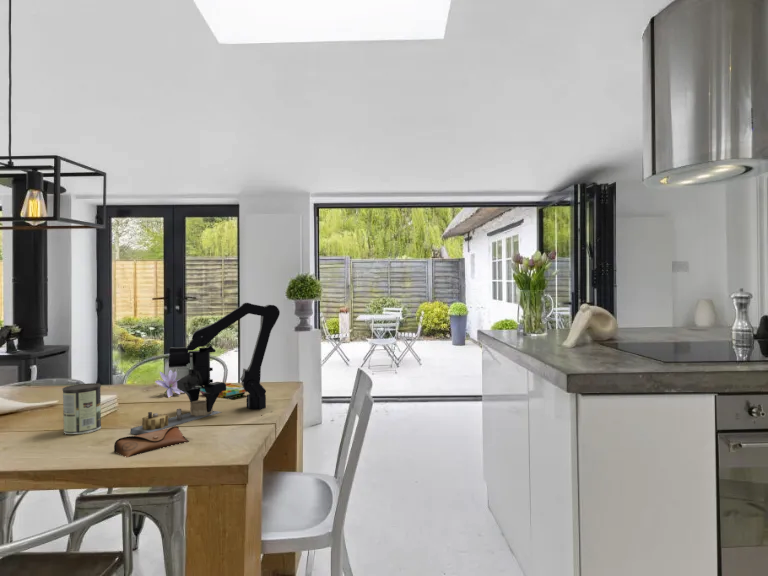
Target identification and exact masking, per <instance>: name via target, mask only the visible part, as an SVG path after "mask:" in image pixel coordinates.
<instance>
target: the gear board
mask: <svg viewBox="0 0 768 576" xmlns="http://www.w3.org/2000/svg"><path fill="white" fill-rule="evenodd" d="M221 413H222V411H218V410H213V412H212V414H207V415H205V416H203V415H202V416H194V415H192V416H191V413H190V412H187V413H183V414H182V408H177V409H176V416H172V417H169V415H168V414H165V413H164V414H162V413H161V414H160V413H158V412H154V413H153V412H152V411H149V412H147V416H145V417H142V422H141V423H142V425H140V426H139V425H138V426H135V427H132V428H130V434H132V435H135V436H136V435H140V434H144V433H149V432H154V431H159V430H164V429H168V428H171V427H174V426H180V425H182V424H186V423H190V422H193V421H198V420H200V419H203V418H207V417H211V416H214V415H218V414H221Z"/></svg>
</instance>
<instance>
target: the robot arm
mask: <svg viewBox="0 0 768 576" xmlns="http://www.w3.org/2000/svg"><path fill="white" fill-rule="evenodd" d="M249 314H250V315H255V316H260V323H259V324H260V326H259V331H258V332H259V333H258V335H257V338H256V342H255V346H254V349H253V352H252V356H251V359H250V363H249V365H248V366H247V368H242V369H243V370H242V374H241V377H240V381H241V386H243V388H244V390H245V391H247V392H246V393H248V394H246V401H245V402H246V408H247V409H248V410H250V411H252V410H253V411H257V410H259V411H260V410H263V409H266V408H267V399H266V398H267V395H266V392H267V390H266V389H265V387H264V386H263V385H262V384H261V375H262V373H261V369H262V364H263V361H264V357H265V353H266V350H267V346H268V343H269V340H270V336H271V333H272V330H273V328H274V326H275V325H276V323H277V321H278V319H279V317H280V309H279V307H278V306H276V305H274V304H266V305H259V304H253V303H250V302H243V303H242V304H241V305H240V306H238V307H237V308H236V309H234V310H232V311H230V312H229V313H227V314H226V315H224V316H223V317H221V318H220V319H219V320H216V321H215V322H213V323H211V324H208V325H206V326H203V327H201V328H199V329H196V330H195V331H194V332H193V334H192V336H191V339H192V340H190V342H189V343H188V344H187V346H183V347H172V346H171V347H170V348H169V352H168V353H169V354H168V355H169V356H168V368H169V369H171V368H184V367H185V368H186V367H188V366H187V365H189V364H191V363H192V368H189V370H188V374H187V375H185V376H182V377H181V378H179V379H180V380H178V379H177V380H178V381H177V385H176V386H177V389H179V390H181V391H182V392H184V393H183V394H186V395H187V397H188V399H189V403H191V402H193V401H197V400H200V399H199V398H200V394H201V392H200V388H202V389H205V391H206V393H203V396H204V398H205V400H206V405H207V412H210V411H211V409H212V407H214V405H215V402H216V400H217V399H218V398H217V397H218V395H219V394H220V393H221V392H222V391H226V384H225V383H226V382H224V381H223V382H221V381H215V382H214V380H213V379H212V378H211V372H212V371H213V367H211V353H215V352H216V349H215V348H214V347H213V346H212V345H211V344H209V343H210V342H211V341H213V340H214V339H215V338H216V337H217V336H218V335H219V334H220V333H221V332H223V331H224V330H225V329H227V328H229V327H230V326H232V325H233V324H234V323H236V322H238V321H239V320H241V319H242V318H243V317H246V316H247V315H249ZM208 344H209V345H208ZM207 345H208V347H205V346H207ZM197 348H199V349H198V350H196V349H197ZM191 354H192V355H191ZM191 357H192V360H191ZM191 361H192V362H191ZM182 392H181V393H182Z"/></svg>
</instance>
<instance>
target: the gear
mask: <svg viewBox="0 0 768 576" xmlns="http://www.w3.org/2000/svg"><path fill="white" fill-rule="evenodd" d="M189 403H190V402H189ZM189 406H190V412H189V413H191V416H192V415H194V416H202V415H203V416H205V415H207V414H212V412H213V411H214V409H213V407H214V406H213V407H212V409H211V411H210V412H207V405H206V399H198V400H197V401H193V402H191V403H190V405H189Z"/></svg>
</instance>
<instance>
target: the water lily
mask: <svg viewBox="0 0 768 576" xmlns="http://www.w3.org/2000/svg"><path fill="white" fill-rule="evenodd" d="M177 375H178V373H177V370H175V371H172V369H169V371H168V373H167V374H165V373H164V372H162V371H159V376H160V378H161V379H162V380H160V379H158V380H155V381H154V383H156V384H157V385H158V386H160V387H163V388H164V389H166V391H165V392H164V393H166V395H167V397H168V398H169V397H170V396H172V397H173V395H174V393H175V394H177V395H181V393H183V394H185V393H184V392H182V391H181V390H179V389H177V381H178V380H180V379H181V378H179V379H176V378H177V377H178V376H177Z"/></svg>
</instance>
